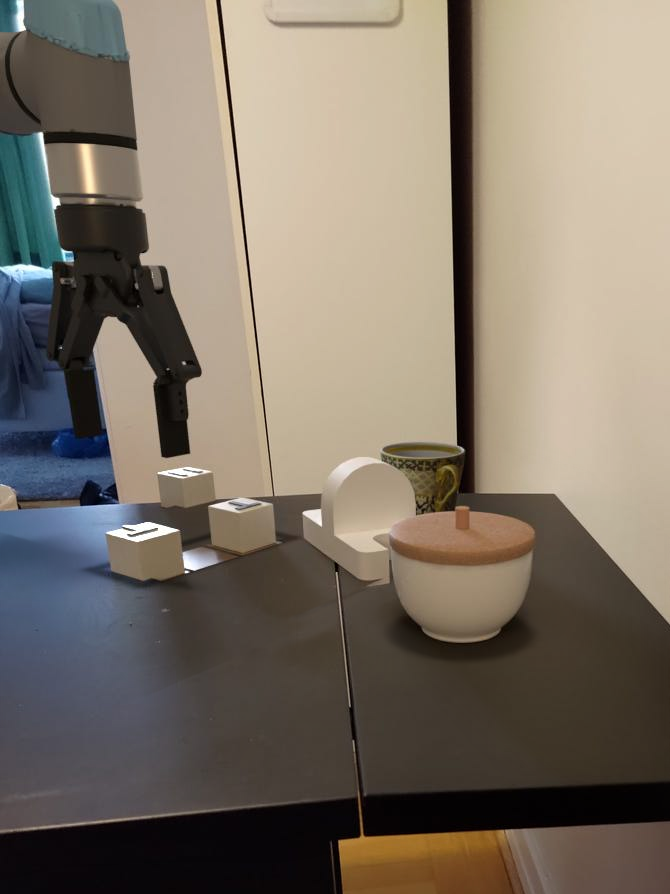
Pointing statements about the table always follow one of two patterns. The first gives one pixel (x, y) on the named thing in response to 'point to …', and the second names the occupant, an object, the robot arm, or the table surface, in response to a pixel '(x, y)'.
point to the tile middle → (186, 487)
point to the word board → (210, 557)
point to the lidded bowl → (461, 571)
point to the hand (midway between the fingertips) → (130, 446)
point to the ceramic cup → (429, 472)
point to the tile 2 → (242, 524)
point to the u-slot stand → (360, 516)
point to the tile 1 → (146, 551)
